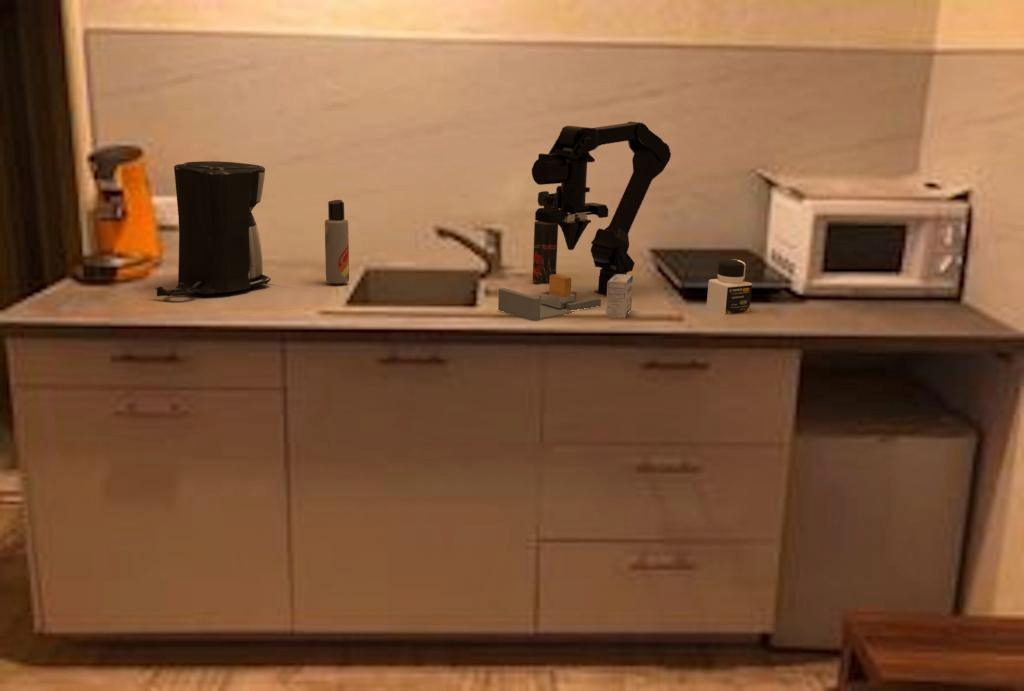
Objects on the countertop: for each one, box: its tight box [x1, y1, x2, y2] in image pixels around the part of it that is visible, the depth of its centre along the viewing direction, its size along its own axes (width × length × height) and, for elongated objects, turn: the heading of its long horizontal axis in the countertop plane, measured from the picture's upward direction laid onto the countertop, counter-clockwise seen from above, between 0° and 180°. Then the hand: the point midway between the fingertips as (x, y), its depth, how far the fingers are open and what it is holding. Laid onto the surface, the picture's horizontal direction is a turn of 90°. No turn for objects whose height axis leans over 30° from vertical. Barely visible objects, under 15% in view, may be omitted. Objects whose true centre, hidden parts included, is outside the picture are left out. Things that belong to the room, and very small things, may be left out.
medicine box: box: [605, 274, 634, 319], centre depth 226 cm, size 8×4×9 cm, turn 164°
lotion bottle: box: [324, 199, 350, 284], centre depth 249 cm, size 6×6×20 cm
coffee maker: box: [154, 160, 272, 297], centre depth 238 cm, size 20×28×29 cm
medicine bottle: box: [706, 258, 753, 315], centre depth 232 cm, size 7×7×12 cm
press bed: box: [497, 287, 602, 322], centre depth 230 cm, size 22×12×5 cm, turn 131°
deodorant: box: [532, 220, 559, 285], centre depth 257 cm, size 6×6×15 cm
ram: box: [540, 273, 576, 309], centre depth 230 cm, size 5×6×6 cm
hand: (570, 249), depth 237 cm, fingers closed
